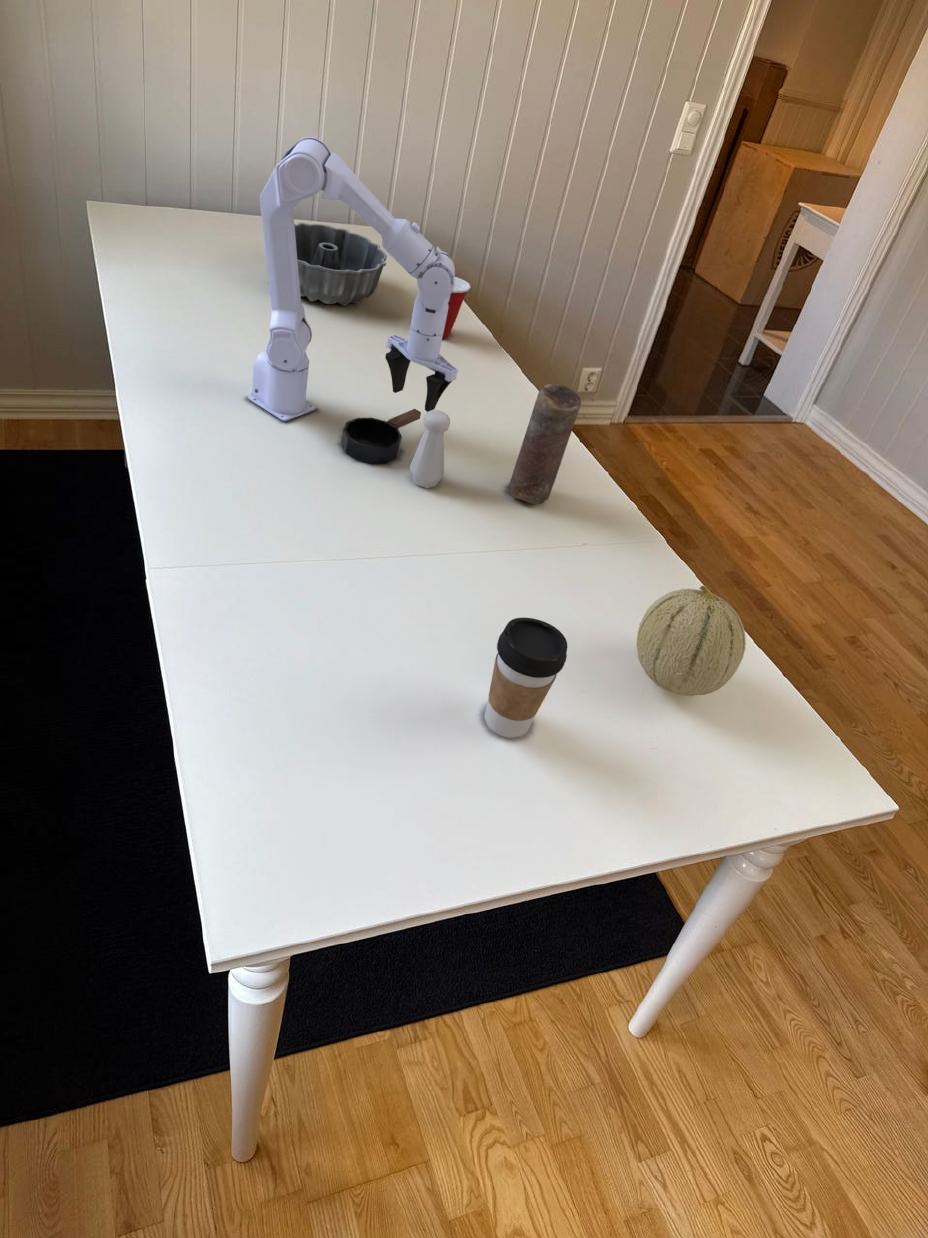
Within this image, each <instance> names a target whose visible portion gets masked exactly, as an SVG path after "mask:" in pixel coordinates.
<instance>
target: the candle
mask: <svg viewBox="0 0 928 1238" xmlns="http://www.w3.org/2000/svg"><path fill="white" fill-rule="evenodd" d="M581 406H582V401H581V396H580V395H579V394H578V392H576V391H574V390H573V389H571V388H570V387H568V386H566V385H564V384H555V383H549V384H545V385H544V386H542V387H541V388H540V389H539V391H538V393H537V396H536V399H535V402H534V406H533V408H532V412H531V415H530V418H529V421H528V424H527V427H526V431H525V433H524V437H523V439H522V443H521V446H520V449H519V453H518V456H517V459H516V461H515V464H514V468H513V471H512V474H511V477H510V481H509V484H508V487H507V489H508V493H509V495H510V496H512V497H513V498H516V499H517V500H523V501H524V502H525V503H527V504H528V503H529V504H531V505H538V504H543V503H544V502H546V501H547V500H548V499H550V496H551V493H552V490H553V487H554V484H555V482H556V479H557V475H558V473H559V469H560V468H561V464H562V461H563V458H564V455H565V452H566V449H567V446H568V444H569V440H570V437H571V434H572V432H573V428H574V426H575V423H576V420H577V417H578V414H579V411H580V409H581Z"/></svg>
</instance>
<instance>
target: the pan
mask: <svg viewBox="0 0 928 1238" xmlns="http://www.w3.org/2000/svg"><path fill="white" fill-rule="evenodd" d="M421 415H422V412H421V411H419V410H418V409H416V408H413V409H410V410H408V411H406V412H404V413H403V412H402V413H401V414H399V415H397V416H394V417H392V418H390V419H388V420H383V419H380V418H375V417H356V418H353V419H350V420H348V421H347V422H345V425H344V426H343V429H342V435H341V442H340V445H341V448H342V449H343V451H344V453H345V454H346V455H347V456H349V457H351V458H352V459H354V460H356V461H357V462H362V463H366V464H369V465H386V464H388V463H391V462H393V461H395V460H397V459H398V456H399V454H400V451H401V446H402V445H401V444H402V438H403V435H402V433H401V431H400V430H399V429H401V428H402V427H405V426H407V425H410V424H412V423H414V422H416V421H418V420H420V419H421Z"/></svg>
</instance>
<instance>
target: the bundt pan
mask: <svg viewBox="0 0 928 1238" xmlns="http://www.w3.org/2000/svg"><path fill="white" fill-rule="evenodd" d="M294 227H295V238H296V250H297V261H298V273H299V284H300V296H301V297H306V298H307V299H308V300H309V301H310V302H315V301H318V300H319V301H320V302H321V303H323V304H326V305H334V304H336V303H337V304H339V305H341V306H347V305H348V304H349V303H352V304H353V303H360V302H362V301H363V300H365V299H367V298H369V297H370V296H372V295H373V294H374V293H375V291H376V290H377V288H378V285H379V281H380V278H381V275H382V272H383V269H384V267H386V266H387V262H386V261H387V258H388V255H387V252H386V251H385V250H384V249H383V250H382V249H381V246H380V245H379V244H377V243H376V242H372V240H371V239H369V238H368V237H366V236H365V235H361V234H358V233H355V232H351V231H349V230H347V229H346V228H337V227H335V226H331V225H329V224H321V223H306V222H299V223H296V224H295V223H294Z"/></svg>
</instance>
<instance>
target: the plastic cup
mask: <svg viewBox="0 0 928 1238" xmlns="http://www.w3.org/2000/svg"><path fill="white" fill-rule="evenodd" d="M470 289H471V284H470V283H469V282H467V281H466V280H464V279H463V278H460V277H457V276H454V289H453V291H452V293H451V294H450V300H449V302H448V312H447V317H446V322H445V327H444V332H443V337H442V340H443V339H448V338H449V337H450V334H451V333H452V330H453V327H454V325H455V323H456V321H457V318H458V316H459V313H460V310H461V307H462V304H463V301H464V300H465V297H466V296H467V293H468V292H469V290H470Z"/></svg>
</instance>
